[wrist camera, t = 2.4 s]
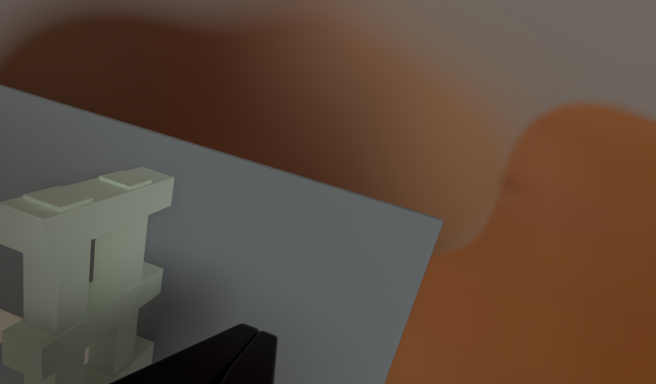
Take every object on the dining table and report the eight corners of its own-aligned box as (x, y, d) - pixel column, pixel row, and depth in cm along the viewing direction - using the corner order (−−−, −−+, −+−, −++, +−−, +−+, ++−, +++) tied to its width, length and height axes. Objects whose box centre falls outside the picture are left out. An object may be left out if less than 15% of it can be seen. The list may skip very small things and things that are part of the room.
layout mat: (442, 219, 11) (443, 221, 11) (312, 578, 16) (311, 585, 16) (-122, 47, 14) (-131, 46, 14) (-83, 386, 19) (-89, 390, 19)
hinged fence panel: (150, 369, 14) (40, 481, 10) (124, 358, 14) (5, 463, 10) (174, 174, 12) (44, 214, 8) (142, 163, 12) (-3, 198, 8)
